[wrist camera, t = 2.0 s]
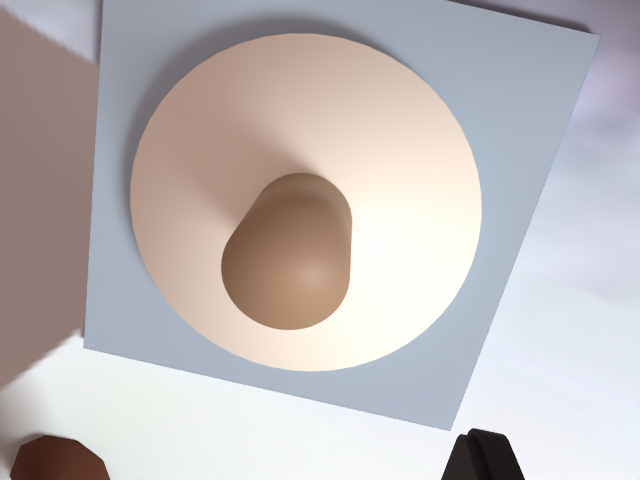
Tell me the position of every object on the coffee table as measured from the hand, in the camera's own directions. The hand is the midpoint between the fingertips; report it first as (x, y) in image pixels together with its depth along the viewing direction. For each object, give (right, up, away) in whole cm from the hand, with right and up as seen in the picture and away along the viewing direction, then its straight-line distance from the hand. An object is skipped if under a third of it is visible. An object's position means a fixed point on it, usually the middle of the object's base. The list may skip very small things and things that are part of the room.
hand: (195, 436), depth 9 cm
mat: (+2, +5, +13) cm, 14 cm away
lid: (+2, +5, +12) cm, 13 cm away
